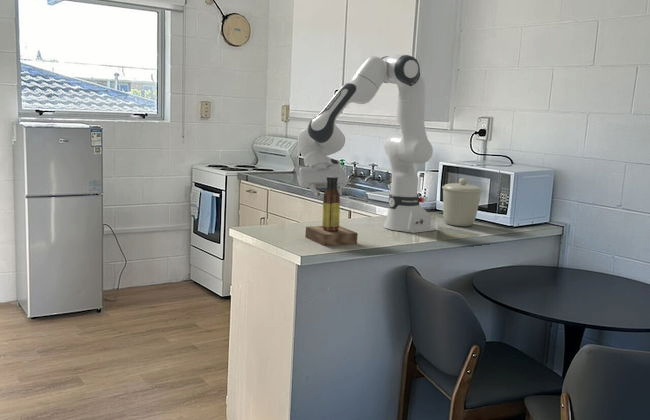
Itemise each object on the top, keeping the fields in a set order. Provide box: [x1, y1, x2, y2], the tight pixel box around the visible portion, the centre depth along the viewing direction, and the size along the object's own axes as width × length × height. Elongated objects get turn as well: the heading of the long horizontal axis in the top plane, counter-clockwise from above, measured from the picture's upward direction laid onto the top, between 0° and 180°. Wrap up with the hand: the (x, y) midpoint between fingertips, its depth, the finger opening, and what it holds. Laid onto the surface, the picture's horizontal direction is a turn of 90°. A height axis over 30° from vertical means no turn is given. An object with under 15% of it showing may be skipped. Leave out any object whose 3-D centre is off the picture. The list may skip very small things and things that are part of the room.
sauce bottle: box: [321, 176, 341, 231], centre depth 235 cm, size 7×6×20 cm
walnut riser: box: [304, 225, 359, 247], centre depth 238 cm, size 14×14×4 cm
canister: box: [441, 177, 484, 227], centre depth 287 cm, size 18×18×21 cm
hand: (328, 195), depth 239 cm, fingers open, 8 cm apart
